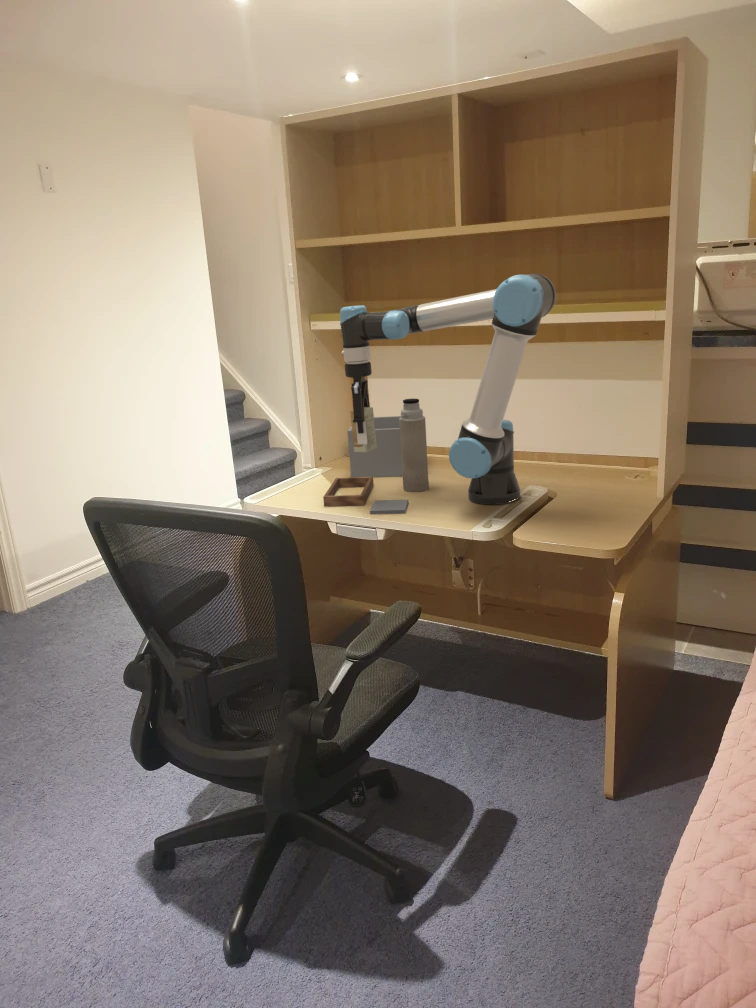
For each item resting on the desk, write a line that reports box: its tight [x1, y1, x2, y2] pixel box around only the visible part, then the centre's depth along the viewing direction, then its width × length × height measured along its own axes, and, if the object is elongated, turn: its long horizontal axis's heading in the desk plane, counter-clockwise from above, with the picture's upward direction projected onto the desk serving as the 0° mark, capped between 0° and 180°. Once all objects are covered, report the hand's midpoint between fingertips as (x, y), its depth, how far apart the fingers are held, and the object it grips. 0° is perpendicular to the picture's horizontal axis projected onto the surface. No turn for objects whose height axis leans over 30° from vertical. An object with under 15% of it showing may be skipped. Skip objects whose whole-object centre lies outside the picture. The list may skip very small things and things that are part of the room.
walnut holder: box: [322, 476, 374, 507], centre depth 239 cm, size 12×21×3 cm, turn 173°
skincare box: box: [349, 406, 377, 452], centre depth 226 cm, size 6×4×12 cm
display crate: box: [347, 415, 403, 478], centre depth 266 cm, size 22×22×16 cm
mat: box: [369, 499, 409, 515], centre depth 224 cm, size 10×10×1 cm
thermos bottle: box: [399, 398, 430, 493], centre depth 238 cm, size 8×8×28 cm
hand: (364, 440), depth 226 cm, fingers closed on skincare box, 7 cm apart
